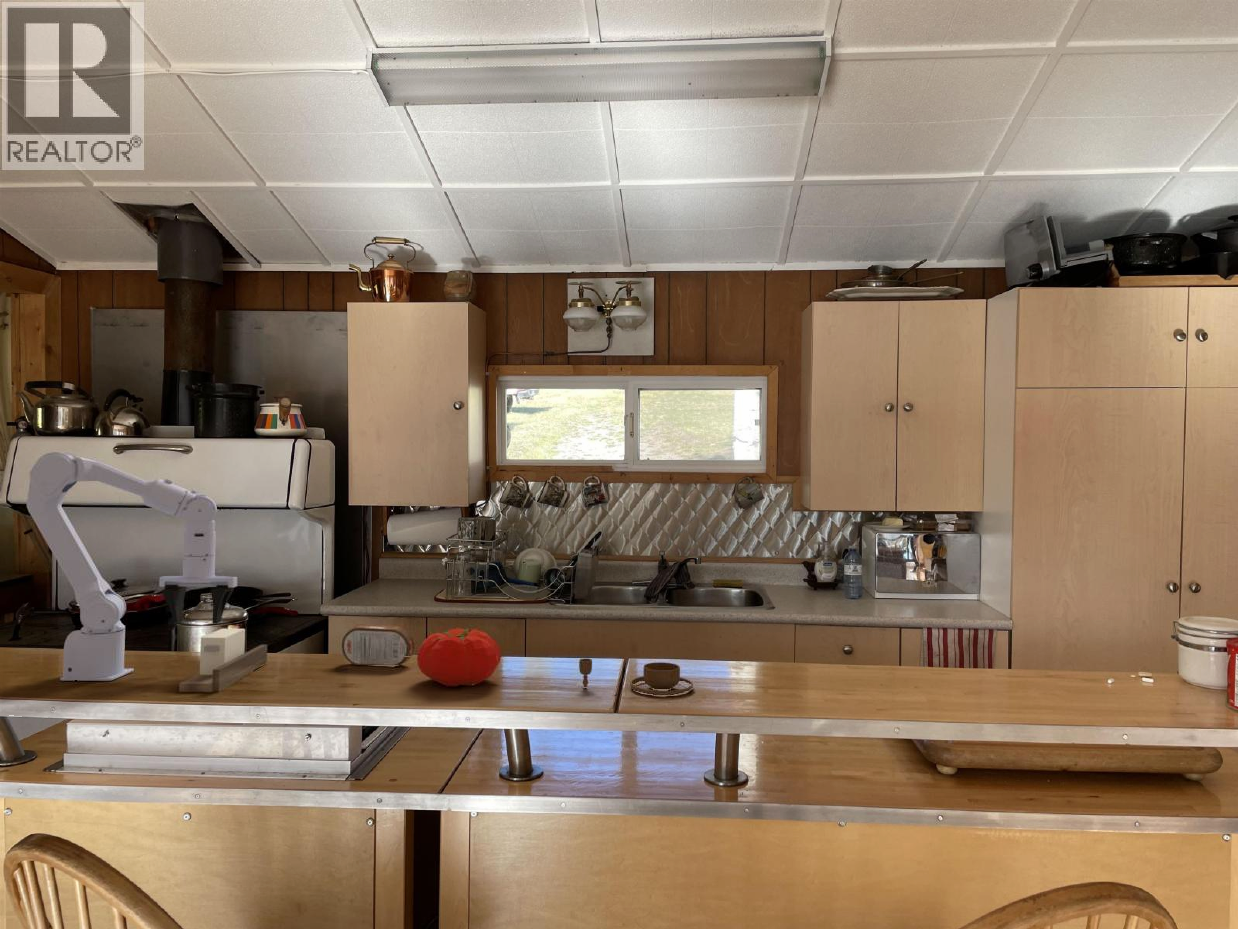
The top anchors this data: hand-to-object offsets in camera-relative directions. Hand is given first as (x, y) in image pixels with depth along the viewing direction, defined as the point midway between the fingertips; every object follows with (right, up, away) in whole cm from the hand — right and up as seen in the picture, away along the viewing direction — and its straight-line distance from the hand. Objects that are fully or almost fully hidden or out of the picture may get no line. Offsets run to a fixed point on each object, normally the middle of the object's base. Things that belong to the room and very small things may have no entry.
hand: (197, 622), depth 161 cm
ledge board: (+9, -9, -6) cm, 14 cm away
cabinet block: (+8, -8, -6) cm, 13 cm away
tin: (+35, -10, +6) cm, 37 cm away
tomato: (+54, -10, -8) cm, 56 cm away
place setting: (+90, -11, -8) cm, 91 cm away
